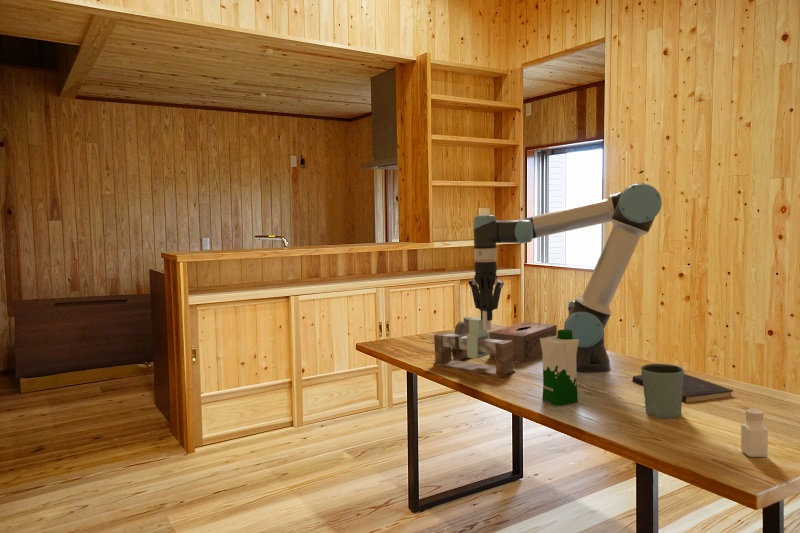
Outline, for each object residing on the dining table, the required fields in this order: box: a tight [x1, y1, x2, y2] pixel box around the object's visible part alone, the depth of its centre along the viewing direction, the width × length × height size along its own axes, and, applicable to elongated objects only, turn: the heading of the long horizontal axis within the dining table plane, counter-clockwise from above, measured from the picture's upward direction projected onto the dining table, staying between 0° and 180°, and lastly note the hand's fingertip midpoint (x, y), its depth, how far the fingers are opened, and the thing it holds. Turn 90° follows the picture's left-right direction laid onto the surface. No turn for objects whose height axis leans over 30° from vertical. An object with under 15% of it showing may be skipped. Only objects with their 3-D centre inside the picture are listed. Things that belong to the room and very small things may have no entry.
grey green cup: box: [640, 363, 685, 419], centre depth 153 cm, size 10×10×12 cm
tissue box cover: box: [488, 321, 558, 364], centre depth 225 cm, size 26×14×10 cm, turn 138°
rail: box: [433, 331, 516, 378], centre depth 205 cm, size 29×8×11 cm, turn 48°
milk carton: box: [540, 329, 579, 407], centre depth 166 cm, size 9×9×20 cm
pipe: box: [451, 348, 469, 361], centre depth 226 cm, size 6×17×10 cm
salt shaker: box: [740, 408, 769, 458], centre depth 125 cm, size 4×4×10 cm
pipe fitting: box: [454, 316, 473, 336], centre depth 252 cm, size 12×8×10 cm
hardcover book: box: [632, 373, 734, 404], centre depth 174 cm, size 16×23×2 cm
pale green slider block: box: [467, 316, 490, 359], centre depth 203 cm, size 4×8×13 cm, turn 138°
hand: (486, 329), depth 200 cm, fingers closed
